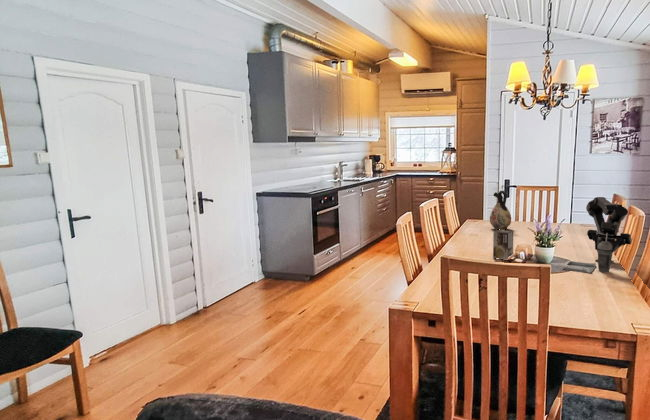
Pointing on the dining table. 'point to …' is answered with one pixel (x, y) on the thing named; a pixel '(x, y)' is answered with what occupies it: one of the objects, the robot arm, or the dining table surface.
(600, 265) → the beverage cup
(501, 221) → the ceramic jug
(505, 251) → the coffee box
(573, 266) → the flared docking tray
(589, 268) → the gray raised edge tray
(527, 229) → the dining table surface
